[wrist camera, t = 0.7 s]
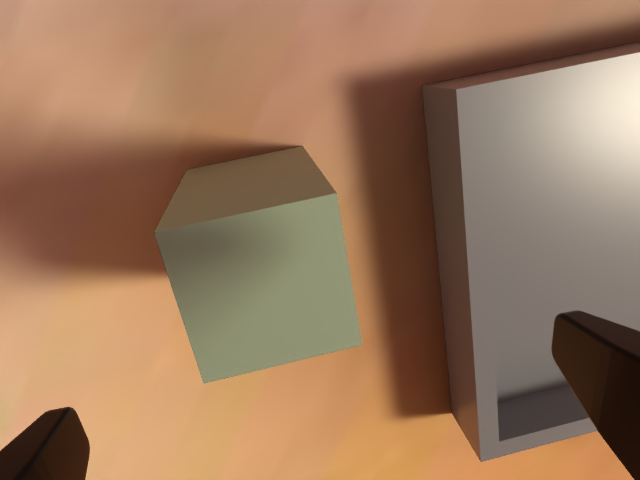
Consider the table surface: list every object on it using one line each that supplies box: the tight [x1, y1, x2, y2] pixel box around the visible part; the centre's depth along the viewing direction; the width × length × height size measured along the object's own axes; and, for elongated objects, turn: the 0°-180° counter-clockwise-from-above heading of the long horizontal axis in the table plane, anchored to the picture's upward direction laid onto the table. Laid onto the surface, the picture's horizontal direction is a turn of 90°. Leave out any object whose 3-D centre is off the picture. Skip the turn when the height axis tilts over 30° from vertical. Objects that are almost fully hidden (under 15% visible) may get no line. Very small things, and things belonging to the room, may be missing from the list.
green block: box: [154, 146, 362, 383], centre depth 17 cm, size 5×5×8 cm
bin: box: [422, 42, 640, 462], centre depth 22 cm, size 18×16×4 cm
